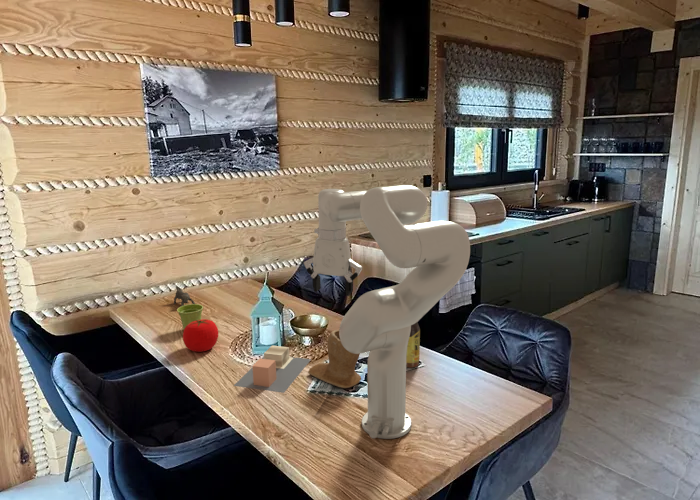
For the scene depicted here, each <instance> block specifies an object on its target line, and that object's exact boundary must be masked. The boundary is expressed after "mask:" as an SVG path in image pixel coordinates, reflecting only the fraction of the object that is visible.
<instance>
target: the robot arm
mask: <svg viewBox="0 0 700 500" xmlns="http://www.w3.org/2000/svg"><path fill="white" fill-rule="evenodd" d="M317 196H318V197H317V198H318V202H317V203H318V204H317V205H318V209H317V210H318V228H315V229H314V231H313V232H314V234H316V235H317V236H318V237H317V238H315V242H314V249H313V256H312V257H311V258H309V259H307V260H305V261H304V262H303V264H304V266H305V269H306V272H308V274H309V276H310V277H311V279H312V288H313V292H314V293H317V292H318V291H319V290H321V275H326V276H335V277H344V278H345V279H346V282H345V295H346V296H347V297H348V296H350V295H351V294H352V293H353V292H354V280H355V279H357V278H358V276H359V275H360V274H361V272H362V270H363V266H362V265H360V264H359V263H357V262H355V261H354V260H353V259H352V256H351V249H350V243H349V238H348V237H347V222H350V221H359V220H362V221H363V223H364V225H365V227H366V229H367V230H368V231H369V234H370V235H371V236H372V238H373V239H374V241H375V242H376V244H377V245H378V247H379V248H380V250H381V252H382V253H383V254H384V257H385V258H386V259H387V260H388V262H390V263H391V264H392V265H393V266H394V267H396V268H400V269H411V268H413V269H412V270H410V272H409V273H408V274H407V275H406V276H405V277H404V279H403V280H401V282H400V283H397V284H396V285H392V286H387V287H382V288H379V289H374V290H371V291H367V292H365V293H363V294H362V295H360V296H359V297H358V298H357V299H356V300H355V302H354V303H353V304H352V306H351V307H350V308H349V310H348V311H347V312H346V313H345V315H344V316H343V317H342V319H341V321H340V325H339V329H338V330H339V336H340V341H341V343H342V345H343V347H344V348H345V349H346V350H347V351H349V352H351V353H354V354H360V355H361V354H363V353H364V354H365V353H368V352H369V353H368V358H367V363H366V364H367V368H366V369H367V372H366V373H367V379H366V380H367V412H366V413H365V414H364V415H362V417H361V427H362V430H364V432H366V433H367V434H368V435H369V437H370V438H371V439H376V438H378V439H385V440H391V439H396V438H397V439H398V438H401V437H403V436H405V435H406V434H408V433H409V432H410V430H411V428H412V418H411V417H410V416H409V414H408V413H406V407H407V406H406V394H407V393H406V392H407V390H406V389H407V381H406V380H407V379H406V378H407V367H406V354H407V346H408V341H409V336H410V331H411V325H413V324H415V323H416V322H419V321H420V320H422V318H423V317H424V316H425V315H426V314H427V313H428V312H429V311H430V310H432V308H433V307H434V306H435V305H436V304H437V303H438V302H439V301H440V300H441V299H442V298H443V297H444V296H445V295H446V294H448V293H449V292H450V291H451V290H452V289H454V287H455V286H456V285H457V283H458V282H459V281H460V280H462V277H463V276H464V274H465V272H466V270H467V268H468V265H469V261H470V258H471V257H470V256H471V242H470V238H469V234H468V232H467V231H466V229H465V228H464V227H463V226H462V225H460V224H459V223H457V222H454V221H449V220H433V221H425V222H418V223H417V221H419V220H421V218H422V217H424V215H425V214H426V212H427V209H428V202H429V201H428V198H427V196H426V194H425V193H424V191H422V190H421V189H420V188H419V187H416V186H415V185H410V184H399V185H389V186H378V187H376V186H375V187H372V188H370V189H368V190H367V189H366V190H355V191H354V190H353V191H344V190H343V189H340V188H325V189H321V190H320V191H319V192H318V195H317ZM352 268H353V269H355V270H354V273H352V272H351V269H352Z"/></svg>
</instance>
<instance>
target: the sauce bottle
mask: <svg viewBox="0 0 700 500" xmlns="http://www.w3.org/2000/svg"><path fill="white" fill-rule="evenodd" d="M418 322H419V321H418ZM418 322H416V323H415V324H413V325H411V331H410V336H409V341H408V346H407V354H406V369H407V368H410V369H412V368H416V367H418V366H419V365H420V347H421V345H420V342H421V339H420V338H421V328H420V325H419V323H418Z"/></svg>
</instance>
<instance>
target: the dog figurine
mask: <svg viewBox="0 0 700 500" xmlns="http://www.w3.org/2000/svg"><path fill="white" fill-rule="evenodd" d="M175 289H176V292H175V295H174V298H173V305H177V299H178V300H179V301H180V300H181V302H180V307H181V306H184V305H185V303H187V304H188V303H189V301H190V302H191V304H196V303H195V301H194V300H193V299H192V298H191V297H190V294H189V293H188V292H184V291H183V289H182V288H180V287H179V286H176V287H175Z"/></svg>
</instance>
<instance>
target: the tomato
mask: <svg viewBox="0 0 700 500" xmlns="http://www.w3.org/2000/svg"><path fill="white" fill-rule="evenodd" d="M218 339H219V328H218V326H217V325H216V323H215V322H214V321H213V320H211V319H207V318H206V319H205V318H201V320H196V321H193V322H191V323H190V324H188V325H187V326H186V327H185V329H183V333H182V340H183V344H184V345H185V347H186V348H187V349H188V350H190V351H192V352H197V353H200V352H201V353H202V352H206V351H210V350H211V349H212V348H214V347H215V346H216V344H217V343H218Z"/></svg>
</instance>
